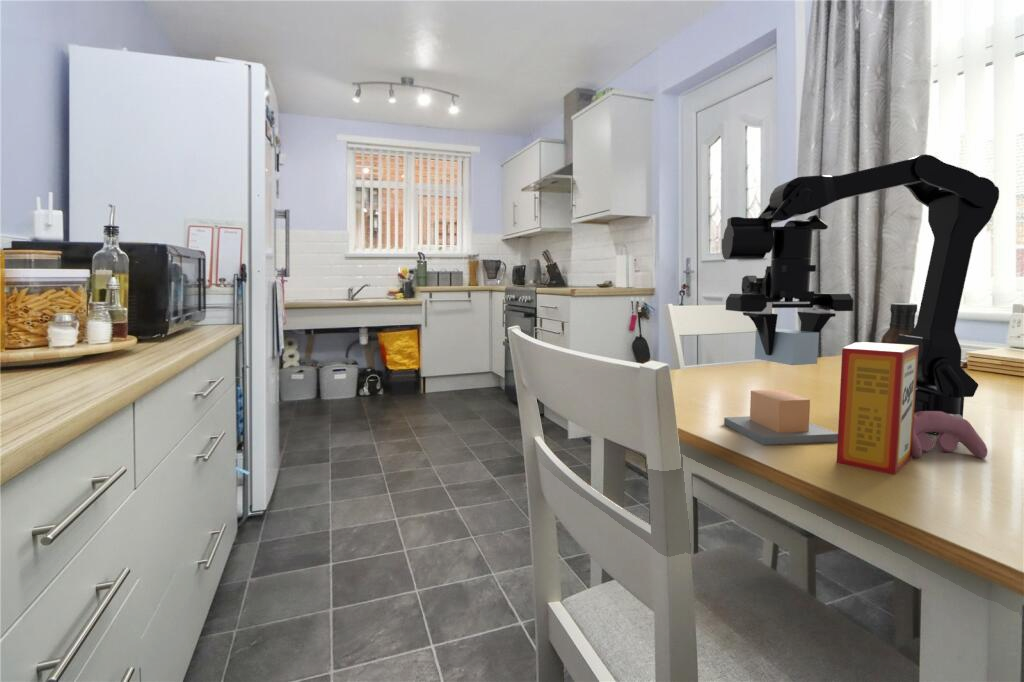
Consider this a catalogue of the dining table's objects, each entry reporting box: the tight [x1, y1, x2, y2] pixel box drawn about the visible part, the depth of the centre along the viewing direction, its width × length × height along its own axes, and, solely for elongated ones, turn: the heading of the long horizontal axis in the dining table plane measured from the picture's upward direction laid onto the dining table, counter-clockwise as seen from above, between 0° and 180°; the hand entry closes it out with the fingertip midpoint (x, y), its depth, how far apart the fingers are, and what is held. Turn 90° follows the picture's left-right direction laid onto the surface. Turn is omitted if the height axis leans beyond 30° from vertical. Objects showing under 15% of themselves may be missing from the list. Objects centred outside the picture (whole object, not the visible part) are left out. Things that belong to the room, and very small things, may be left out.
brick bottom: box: [749, 389, 811, 433], centre depth 86 cm, size 5×8×5 cm, turn 6°
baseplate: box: [723, 415, 838, 446], centre depth 86 cm, size 12×12×1 cm
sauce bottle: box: [880, 302, 918, 344], centre depth 101 cm, size 6×6×20 cm
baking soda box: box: [836, 341, 919, 476], centre depth 71 cm, size 10×6×16 cm
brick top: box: [754, 328, 820, 366], centre depth 87 cm, size 5×8×5 cm, turn 18°
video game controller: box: [911, 411, 988, 459], centre depth 75 cm, size 10×5×7 cm, turn 85°
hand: (785, 354), depth 87 cm, fingers closed on brick top, 6 cm apart
